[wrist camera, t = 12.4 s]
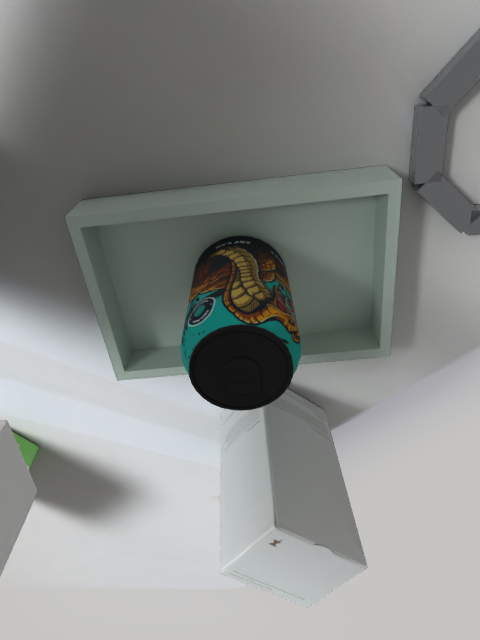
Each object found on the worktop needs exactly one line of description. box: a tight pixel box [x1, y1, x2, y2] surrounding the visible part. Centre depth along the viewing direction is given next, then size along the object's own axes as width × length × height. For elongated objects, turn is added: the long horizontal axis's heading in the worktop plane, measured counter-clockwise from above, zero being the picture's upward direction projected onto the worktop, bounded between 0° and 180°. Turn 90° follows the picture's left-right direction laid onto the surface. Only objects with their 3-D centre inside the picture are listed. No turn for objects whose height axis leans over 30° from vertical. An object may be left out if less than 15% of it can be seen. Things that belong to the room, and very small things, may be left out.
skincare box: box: [220, 389, 367, 607], centre depth 37 cm, size 8×7×16 cm
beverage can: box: [180, 236, 302, 411], centre depth 30 cm, size 7×7×12 cm
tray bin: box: [64, 165, 402, 381], centre depth 34 cm, size 22×14×4 cm, turn 96°
